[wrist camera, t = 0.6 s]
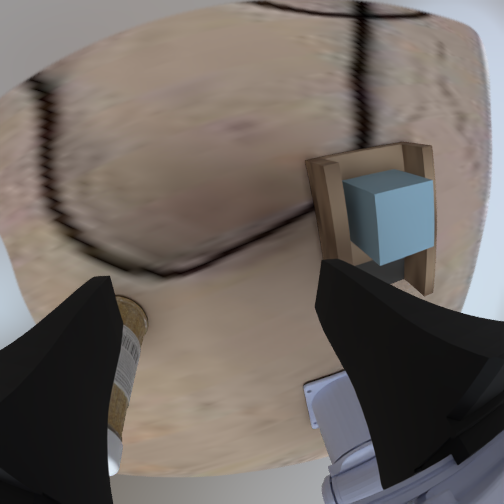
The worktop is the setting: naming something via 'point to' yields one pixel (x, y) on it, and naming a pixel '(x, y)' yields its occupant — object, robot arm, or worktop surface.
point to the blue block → (390, 214)
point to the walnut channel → (335, 213)
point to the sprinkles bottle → (124, 377)
